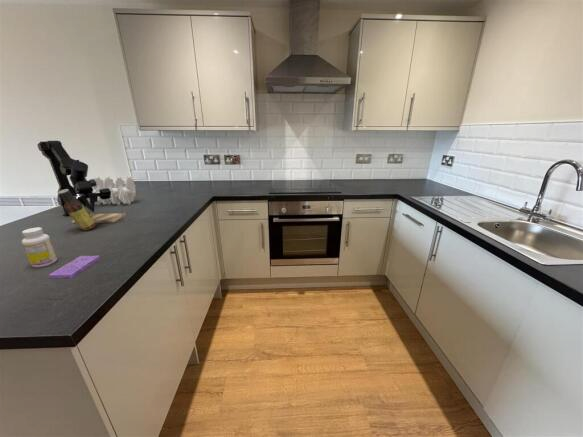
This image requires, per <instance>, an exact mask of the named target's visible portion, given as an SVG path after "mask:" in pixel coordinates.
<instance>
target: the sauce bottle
mask: <svg viewBox="0 0 583 437" xmlns="http://www.w3.org/2000/svg"><path fill="white" fill-rule="evenodd" d="M58 195H59V196H61V198H62V199H63V201H64V202H65V205H64V206H65V208H66V210H67V211H68V213H69V214H70V217H71V218H72V220H74V221H75V222H76V223H75V224H76V225H77V226H78V227H79V229H80V230H82V231H89V230H92V229H94V228H95V227H96V226H97V224H96V223H95V221H94V220H93V218H92V217H91V215H90V214H91V213H89V211H88V208H86V207H85V206H84V205H83V204H82V203H81V202H80V201H78V200H77V199H76V198H74V197H73V195H72V194H71V192H70V190H69V189H64V190H61V191H59V192H58V191H57V196H58Z"/></svg>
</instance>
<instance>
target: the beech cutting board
mask: <svg viewBox="0 0 583 437" xmlns="http://www.w3.org/2000/svg"><path fill="white" fill-rule="evenodd" d="M89 214H90V215H91V217H92V218H93V220H94V221H95V223H97V224H98V223H115V222H117V221H118V220H120V219H123V218H124V217H126V216H127V214H126V213H124V212H123V213H121V212H119V213H89ZM71 222H72V224H77V223H76V222H75V221H74V219H72V220H71Z"/></svg>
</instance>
